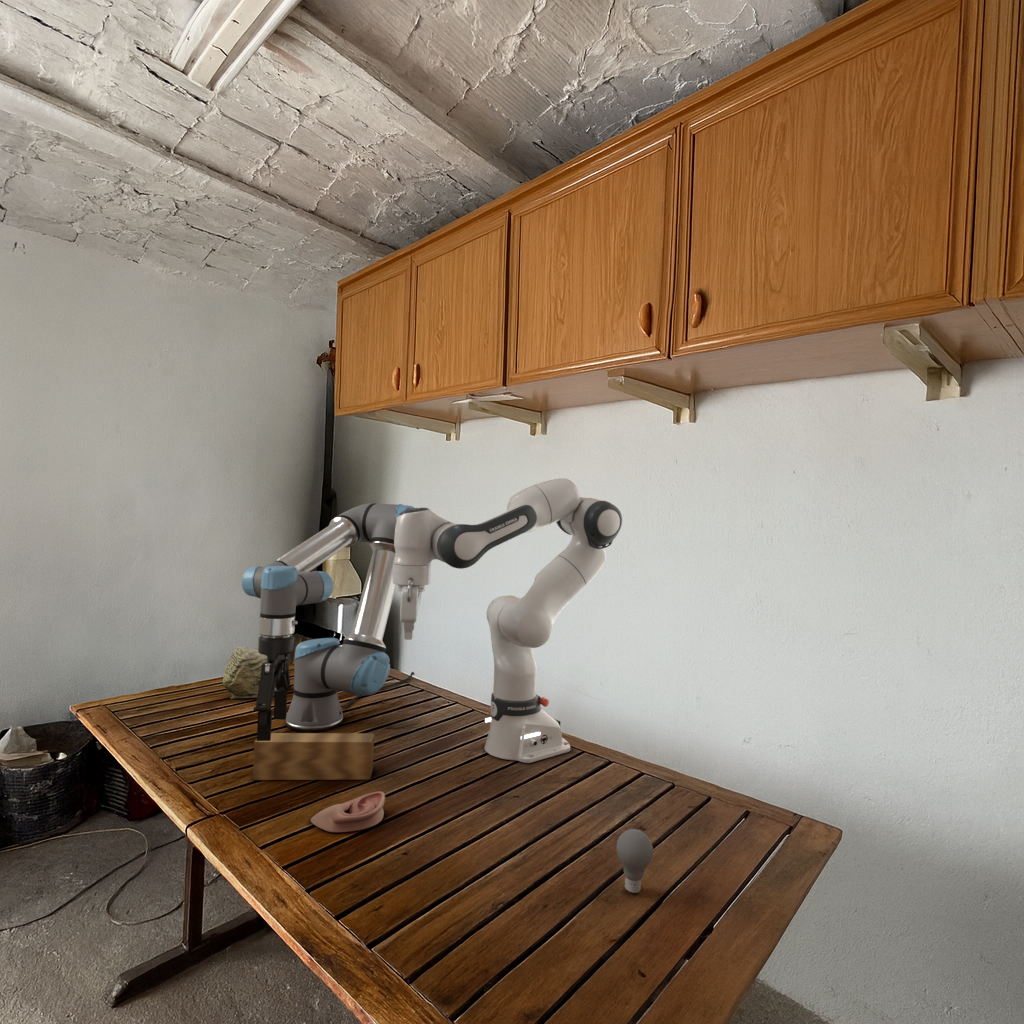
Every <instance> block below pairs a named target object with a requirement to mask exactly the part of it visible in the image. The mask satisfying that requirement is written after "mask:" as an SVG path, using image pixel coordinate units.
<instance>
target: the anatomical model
mask: <svg viewBox="0 0 1024 1024" xmlns="http://www.w3.org/2000/svg"><path fill="white" fill-rule="evenodd" d="M385 802H386V794H385V792H384V791H380V790H379V791H374V792H370V793H366V794H363V795H361V796H358V797H355V798H353V799H351V800H348V801H345V802H343V803H337V804H334V805H333V804H332V805H330V806H328V807H325V808H324V809H322V810H321V811H318V812H317V813H316V814H315V815H313V816H312V817H311V818H310V823H311V824H313V825H314V826H316V827H317V828H319V829H321V830H323V831H326V832H329V833H347V832H355V831H361V830H365V829H369V828H371V827H374V826H376V825H378V824H379V823H380V822H382V820H383V819H384V815H385V810H384V805H385Z"/></svg>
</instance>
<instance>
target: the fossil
mask: <svg viewBox="0 0 1024 1024" xmlns="http://www.w3.org/2000/svg"><path fill="white" fill-rule="evenodd" d="M266 661H267V656H266V655H262V654H260V653H259V652H258V648H251V647H247V646H246V647H245V646H238V647H237V648H236V649H235V650H233V651H232V653H231V656H230V657H229V659H228V660H227V663H226V666H225V668H224V671H223V675H222V676H223V677H222V685H223V687H224V688H225V690H226V691H228V693H229V698H230V699H250V698H257V695H258V689H259V683H260V677H261V668H262V667H261V665H262V663H265V662H266ZM275 691H278V690H276V687H275ZM275 691H274V696H275Z"/></svg>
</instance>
